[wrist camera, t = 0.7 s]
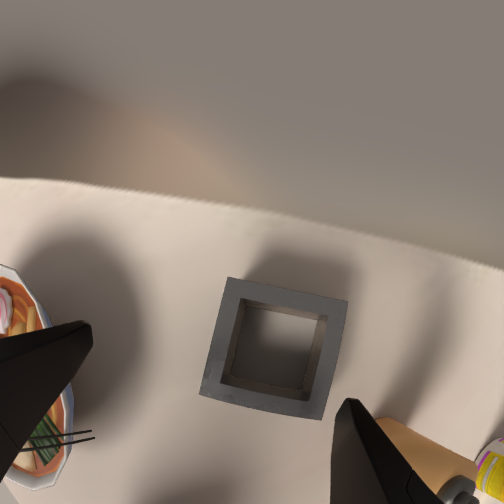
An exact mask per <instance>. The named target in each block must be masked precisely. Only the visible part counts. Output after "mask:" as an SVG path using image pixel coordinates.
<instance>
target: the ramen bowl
mask: <svg viewBox="0 0 504 504" xmlns="http://www.w3.org/2000/svg"><path fill="white" fill-rule="evenodd" d="M49 327H53V326H52V323H51V321H50V318H49V317H48V315H47V313H46V311H45V310H44V308H43V307H42V306H41V305H40V303H39V302H38V300H37V299H36V298H35V296H34V295H33V294H32V292H31V291H30V289H29V288H28V286H27V285H26V284H25V282H24V281H23V279H22V278H21V277H20V275H19V274H18V273H17V271H16V270H15V269H12V268H10V267H7V266H4V265H2V264H0V338H1V339H2V338H4V337H8V336H13V335H18V334H22V333H27V332H31V331H36V330H40V329H44V328H49ZM73 415H74V397H73V392H72V387H71V382H70V383H69V384H68V385H67V386H66V388H65V389H64V390H63V392H62V393H61V394H60V396H59V397H58V398H57V400H56V401H55V402H54V404H53V405H52V406H51V408H50V409H49V411H48V412H47V413H46V415H45V416H44V418H43V419H42V420H41V422H40V423H39V425H38V426H37V427H36V429H35V430H34V432H33V433H32V435H31V436H30V437H29V439H28V440H27V442H26V443H25V445H24V446H23V448H22V449H21V451H20V453H19V454H18V456H17V457H16V459H15V460H14V462H13V463H12V465H11V466H10V468H9V470H8V471H7V473H6V474H5V477H6V478H7V479H8V480H10V481H12V482H14V483H16V484H19V485H21V486H23V487H25V488H27V489H30V490H32V491H35V490H39V489H43V488H47V487H50V486H54V484H55V482H56V480H57V478H58V476H59V474H60V473H61V471H62V469H63V467H64V465H65V463H66V461H67V459H68V456H69V454H70V452H71V449H72V444H74V443H79V442H83V441H88V440H92V439H95V437H92V438H87V439H82V440H77V441H73V435H76V434H82V433H87V432H92V430H86V431H80V432H73Z"/></svg>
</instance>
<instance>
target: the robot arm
mask: <svg viewBox="0 0 504 504" xmlns="http://www.w3.org/2000/svg"><path fill="white" fill-rule="evenodd" d="M92 346H93V336H92V328H91V325H90V324H89V323H87V322H85V321H83V320H79V321H74V322H70V323H66V324H62V325H57V326H53V327H49V328H44V329H40V330H36V331H31V332H27V333H22V334H18V335H13V336H8V337H4V338H2V339H1V338H0V483H1V481H2V479H3V478H4V476H5V474H6V473H7V471H8V470H9V468H10V466H11V465H12V463H13V462H14V460H15V459H16V457H17V456H18V454H19V453H20V451H21V449H22V448H23V446H24V445H25V443H26V442H27V440H28V439H29V437H30V436H31V435H32V433H33V432H34V430H35V429H36V427H37V426H38V425H39V423H40V422H41V420H42V419H43V418H44V416H45V415H46V413H47V412H48V411H49V409H50V408H51V406H52V405H53V404H54V402H55V401H56V400H57V398H58V397H59V396H60V394H61V393H62V392H63V390H64V389H65V388H66V386H67V385H68V384H69V383H70V381H71V380H72V378H73V377H74V376H75V374H76V373H77V371H78V369H79V368H80V366H81V364H82V363H83V361H84V359H85V358H86V356H87V355H88V353H89V352H90V350H91V348H92ZM330 504H445V503H444V502H443V501H442V500H441V499H440V498H439V497H438V496H437V495H436V494H435V493H434V492H433V491H432V490H431V489H430V488H429V487H428V486H427V485H426V484H425V482H424V481H423V480H422V479H421V478H420V476H419V475H418V474H417V473H416V471H415V470H414V469H413V470H412V467H411V465H410V464H409V463H408V461H407V460H406V459H405V458H404V456H403V455H402V454H401V453H400V451H399V450H398V449H397V448H396V446H395V445H394V444H393V442H392V441H391V440H390V439H389V437H388V436H387V435H386V434H385V432H384V431H383V430H382V428H381V427H380V426H379V425H378V423H377V422H376V421H375V420H374V418H373V417H372V416H371V414H370V413H369V412H368V411H367V409H366V408H365V407H364V406H363V404H362V403H361V402H360V400H358V399H354V398H346V399H345V400H344V402H343V404H342V405H341V407H340V409H339V411H338V412H337V414H336V417H335V425H334V434H333V443H332V452H331V487H330Z"/></svg>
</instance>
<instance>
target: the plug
mask: <svg viewBox="0 0 504 504" xmlns="http://www.w3.org/2000/svg"><path fill="white" fill-rule="evenodd" d="M375 421H376V422H377V423H378V425H379V426H380V427H381V428H382V430H383V431H384V432H385V434H386V435H387V436H388V437H389V439H390V440H391V441H392V442H393V444H394V445H395V446H396V448H397V449H398V450H399V451H400V453H401V454H402V455H403V456H404V458H405V459H406V460H407V461H408V463H409V464H410V465H411V467H412V470H413V469H414V470H415V471H416V473H417V474H418V475H419V476H420V478H421V479H422V480H423V481H424V482H425V484H426V485H427V486H428V487H429V488H430V489H431V490H432V491H433V492H434V493H435V494H436V495H437V496H438V497H439V498H440V499H441V500H442V501H443V502H444V503H445V504H479V500H478V499H477V498H476V497H474V496H472V495H473V493H474V491H475V487H476V484H475V483H476V480H477V477H478V467H477V465H476V463H475V462H473V461H471V460H469V459H467V458H465V457H463V456H461V455H459V454H457V453H455V452H453V451H451V450H449V449H447V448H445V447H443V446H441V445H439V444H437V443H435V442H434V441H432V440H430V439H428V438H426V437H424V436H422V435H421V434H419V433H417V432H415V431H413V430H412V429H410V428H408V427H406V426H405V425H403V424H401V423H399V422H398V421H396V420H394V419H392V418H389V417H382V418H378V419H376V420H375Z"/></svg>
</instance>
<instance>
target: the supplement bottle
mask: <svg viewBox="0 0 504 504" xmlns="http://www.w3.org/2000/svg"><path fill="white" fill-rule="evenodd" d="M475 463H476V465H477V467H478V477H477V480H476V483H475V484H476V487H475V488H477V489H479V490H481V491H482V492H484V493H486V494H488V495H490V496H492V497H494V498H496V499H497V500H499V501H501V502H503V503H504V438H498V439H496V440H494V441H492V442H491V443H490V444H489V445H488V446H487V447H486V448H485V449H484V450H483V451H482V452H481V453H480V455H479V456H478V458H477V460H476V461H475Z"/></svg>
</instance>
